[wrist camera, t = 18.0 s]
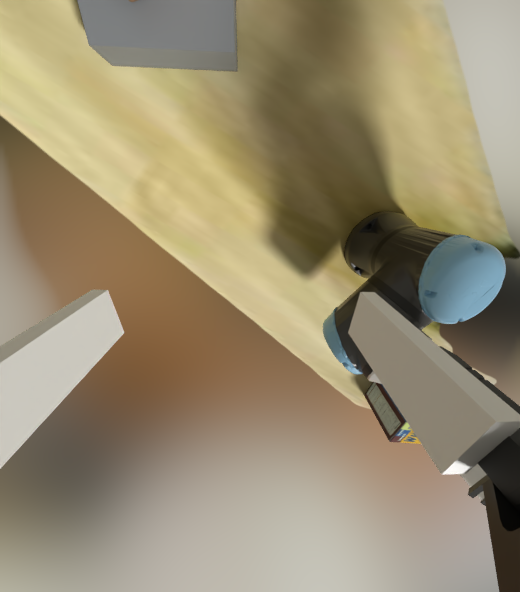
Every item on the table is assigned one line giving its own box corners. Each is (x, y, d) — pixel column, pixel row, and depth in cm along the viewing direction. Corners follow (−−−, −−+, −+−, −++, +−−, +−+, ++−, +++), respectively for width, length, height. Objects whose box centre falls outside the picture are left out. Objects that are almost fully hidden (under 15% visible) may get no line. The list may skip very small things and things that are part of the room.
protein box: (401, 398, 75) (433, 445, 61) (363, 395, 73) (388, 442, 60) (415, 380, 70) (454, 426, 56) (375, 376, 69) (406, 422, 55)
